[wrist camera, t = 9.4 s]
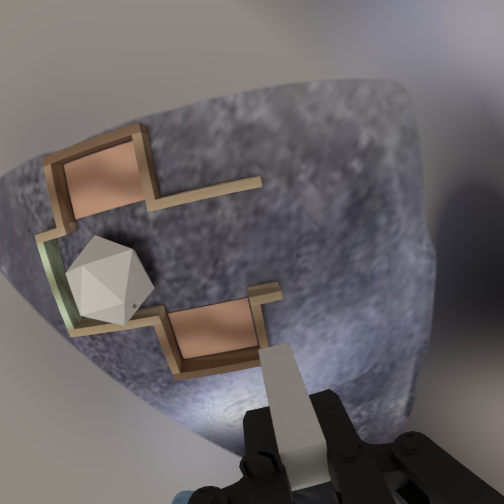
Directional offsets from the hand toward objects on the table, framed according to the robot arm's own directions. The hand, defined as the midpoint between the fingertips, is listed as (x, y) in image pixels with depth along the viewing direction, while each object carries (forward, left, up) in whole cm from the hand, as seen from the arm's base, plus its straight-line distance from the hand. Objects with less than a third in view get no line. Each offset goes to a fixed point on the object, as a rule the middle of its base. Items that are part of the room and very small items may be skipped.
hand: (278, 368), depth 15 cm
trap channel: (+2, +10, -21) cm, 23 cm away
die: (+2, +15, -21) cm, 26 cm away
